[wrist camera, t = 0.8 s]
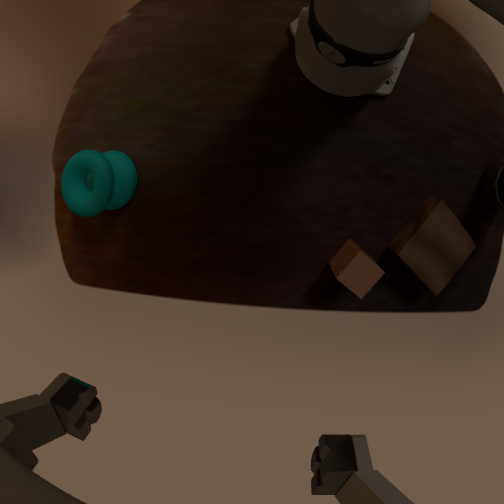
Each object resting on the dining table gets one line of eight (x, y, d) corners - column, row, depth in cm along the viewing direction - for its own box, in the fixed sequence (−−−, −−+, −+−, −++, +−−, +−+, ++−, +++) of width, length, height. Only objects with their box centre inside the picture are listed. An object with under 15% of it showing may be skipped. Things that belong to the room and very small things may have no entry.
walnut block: (427, 195, 40) (441, 199, 35) (461, 238, 41) (476, 245, 36) (386, 245, 43) (397, 254, 38) (424, 284, 44) (436, 296, 39)
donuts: (104, 142, 33) (111, 214, 36) (137, 145, 42) (143, 205, 45) (55, 157, 34) (62, 221, 37) (91, 157, 44) (97, 211, 46)
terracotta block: (349, 238, 43) (360, 250, 36) (371, 257, 43) (384, 272, 37) (328, 262, 44) (336, 278, 38) (351, 280, 45) (361, 298, 38)
